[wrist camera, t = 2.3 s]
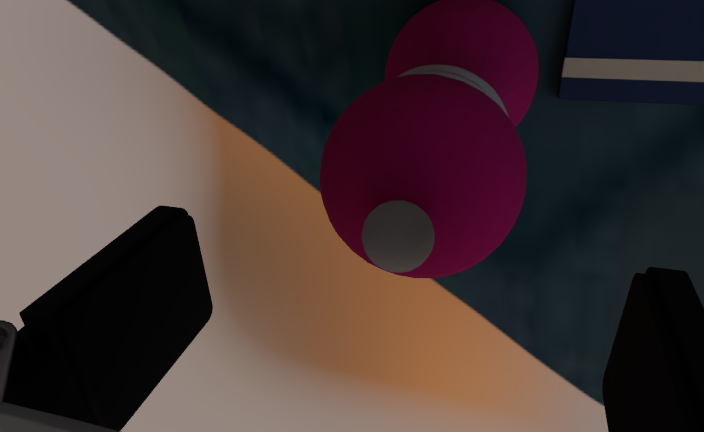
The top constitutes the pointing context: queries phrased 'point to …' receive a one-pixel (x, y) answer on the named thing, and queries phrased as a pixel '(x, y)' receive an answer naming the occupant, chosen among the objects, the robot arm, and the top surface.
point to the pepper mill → (435, 143)
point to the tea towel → (635, 52)
